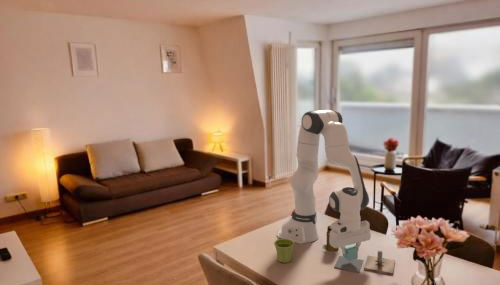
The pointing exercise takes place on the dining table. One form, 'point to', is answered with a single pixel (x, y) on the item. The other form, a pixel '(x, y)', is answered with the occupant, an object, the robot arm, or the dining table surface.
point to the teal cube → (351, 252)
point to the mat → (348, 264)
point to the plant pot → (284, 249)
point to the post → (379, 264)
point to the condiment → (328, 247)
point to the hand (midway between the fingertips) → (350, 252)
